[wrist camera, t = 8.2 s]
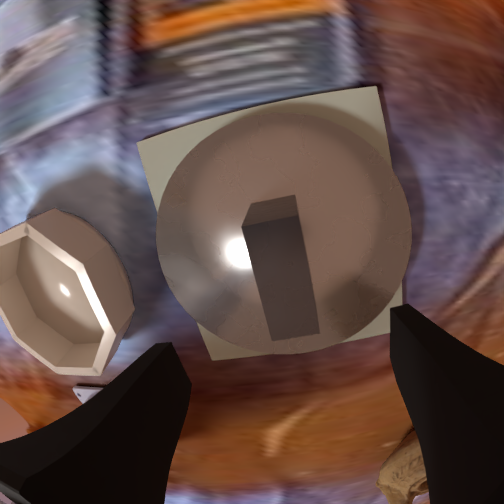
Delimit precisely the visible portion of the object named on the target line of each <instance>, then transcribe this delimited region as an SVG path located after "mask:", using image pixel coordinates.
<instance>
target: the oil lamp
mask: <svg viewBox="0 0 504 504" xmlns="http://www.w3.org/2000/svg"><path fill="white" fill-rule="evenodd" d="M376 486H377V487H379V488H380V489H381V491H382V492H383V494H384V495H385V496H386V498H387V500H388V503H389V504H412V502H413V499H414V497H415V496H418V495H422V494H425V493H427V492H429V490H428V483H427V477H426V471H425V466H424V461H423V456H422V452H421V447H420V444H419V440H418V437H417V434H416V431H415V430H413V431H412V432H411V433H410V434H408V435H407V436H406V438H405V439H404V440H403V441H402V442H401V443H400V444H399V445H398V447H397V448H396V449H395V450H394V451H393V453H392V454H391V455H390V456H389V457H388V458H387V460H386V461H385V462H384V463H383V465H382V467H381V469H380V474H379V478H378V480H377V482H376Z"/></svg>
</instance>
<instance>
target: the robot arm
mask: <svg viewBox="0 0 504 504" xmlns="http://www.w3.org/2000/svg"><path fill="white" fill-rule="evenodd" d="M390 359H391V363H392V367H393V371H394V374H395V378H396V382H397V384H398V387H399V390H400V392H401V395H402V397H403V400H404V402H405V405H406V407H407V410H408V413H409V415H410V418H411V420H412V423H413V426H414V428H415V431H416V434H417V437H418V440H419V444H420V447H421V452H422V456H423V461H424V466H425V471H426V477H427V483H428V490H429V497H430V504H504V365H502V364H500V363H498V362H496V361H494V360H492V359H490V358H488V357H486V356H484V355H482V354H480V353H479V352H477V351H475V350H473V349H472V348H470V347H469V346H467V345H465V344H464V343H462V342H461V341H459V340H458V339H456V338H455V337H453V336H452V335H450V334H449V333H447V332H446V331H444V330H443V329H442V328H440V327H439V326H437V325H436V324H435V323H433V322H432V321H431V320H429V319H428V318H427V317H425V316H424V315H423V314H421V313H420V312H419V311H417V310H416V309H414V308H413V307H412V306H410V305H409V304H405V305H400V306H396V307H392V308H390ZM191 386H192V384H191V382H190V380H189V378H188V376H187V374H186V372H185V370H184V368H183V366H182V364H181V362H180V359H179V357H178V355H177V353H176V351H175V349H174V347H173V345H172V343H171V342H167V343H156V344H155V345H153V346H152V347H151V348H149V349H148V350H147V351H146V352H145V353H143V354H142V355H141V356H140V357H139V358H138V359H137V360H135V361H134V362H133V363H132V364H131V365H130V366H129V367H128V368H126V369H125V370H124V371H123V372H122V373H121V374H120V375H119V376H117V377H116V378H115V379H114V380H113V381H112V382H110V383H109V384H108V385H107V386H106V387H104V388H98V387H82V386H74V388H73V391H74V393H75V394H76V395H77V397H78V398H79V400H80V401H81V402H82V405H81V406H79V407H78V408H76V409H75V410H73V411H72V412H70V413H69V414H67V415H65V416H64V417H62V418H60V419H58V420H56V421H55V422H53V423H51V424H49V425H47V426H45V427H43V428H41V429H39V430H37V431H34V432H32V433H30V434H27V435H25V436H22V437H19V438H16V439H13V440H10V441H6V442H3V443H0V492H2V493H3V494H4V495H5V496H6V497H8V498H9V499H10V500H12V503H11V504H164V501H165V493H166V487H167V481H168V475H169V470H170V466H171V462H172V458H173V455H174V452H175V449H176V446H177V442H178V439H179V436H180V433H181V430H182V427H183V423H184V420H185V417H186V414H187V410H188V405H189V400H190V393H191ZM0 504H5V503H4V502H3V501H1V500H0Z"/></svg>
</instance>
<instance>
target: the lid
mask: <svg viewBox="0 0 504 504" xmlns="http://www.w3.org/2000/svg"><path fill="white" fill-rule="evenodd" d="M411 243H412V225H411V217H410V210H409V207H408V203H407V200H406V196H405V193H404V191H403V189H402V187H401V184H400V182H399V180H398V178H397V176H396V175H395V173H394V172H393V170H392V169H391V167H390V165H389V164H388V163H387V162H386V160H385V159H384V158H383V157H382V156H381V155H380V153H379V152H378V151H377V150H376V149H375V148H374V147H372V146H371V145H370V144H369V143H368V142H367V141H365V140H364V139H363V138H362V137H360V136H359V135H357V134H355V133H354V132H352V131H351V130H349V129H347V128H345V127H343V126H341V125H339V124H336V123H334V122H332V121H330V120H326V119H323V118H319V117H316V116H312V115H306V114H298V113H268V114H262V115H256V116H251V117H248V118H245V119H242V120H238V121H235V122H233V123H231V124H229V125H227V126H224V127H222V128H220V129H218V130H217V131H215V132H214V133H212V134H211V135H209V136H208V137H206V138H205V139H203V140H202V141H201V142H200V143H198V144H197V145H196V146H195V147H194V148H193V149H192V150H191V151H190V152H189V153H188V154H187V155H186V156H185V157H184V159H183V160H182V161H181V162H180V164H179V165H178V166H177V168H176V169H175V171H174V172H173V174H172V176H171V177H170V179H169V181H168V183H167V185H166V188H165V190H164V193H163V195H162V198H161V202H160V206H159V209H158V215H157V223H156V245H157V251H158V257H159V261H160V265H161V268H162V271H163V274H164V276H165V279H166V281H167V283H168V285H169V287H170V289H171V291H172V292H173V294H174V296H175V297H176V299H177V300H178V302H179V303H180V304H181V305H182V307H183V308H184V309H185V310H186V312H187V313H188V314H189V315H190V316H191V317H192V318H193V319H194V320H195V321H196V322H198V323H199V324H200V325H201V326H203V327H204V328H205V329H207V330H208V331H209V332H211V333H213V334H214V335H216V336H218V337H219V338H221V339H223V340H225V341H227V342H229V343H231V344H234V345H236V346H239V347H242V348H245V349H248V350H253V351H257V352H262V353H270V354H299V353H307V352H312V351H316V350H321V349H324V348H327V347H330V346H333V345H335V344H337V343H339V342H342V341H344V340H346V339H348V338H350V337H351V336H353V335H354V334H356V333H358V332H359V331H361V330H362V329H363V328H365V327H366V326H367V325H368V324H370V323H371V322H372V321H373V320H374V319H375V318H376V317H377V316H378V315H379V314H380V313H381V312H382V311H383V310H384V309H385V307H386V306H387V305H388V303H389V302H390V301H391V300H392V298H393V296H394V295H395V293H396V291H397V290H398V288H399V286H400V284H401V281H402V279H403V277H404V274H405V272H406V268H407V265H408V261H409V257H410V251H411Z"/></svg>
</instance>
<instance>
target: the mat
mask: <svg viewBox="0 0 504 504" xmlns="http://www.w3.org/2000/svg"><path fill="white" fill-rule="evenodd" d="M268 113H298V114H306V115H312V116H316V117H319V118H323V119H326V120H330V121H332V122H334V123H336V124H339V125H341V126H343V127H345V128H347V129H349V130H351V131H352V132H354V133H355V134H357V135H359V136H360V137H362V138H363V139H364V140H365V141H367V142H368V143H369V144H370V145H371V146H372V147H374V148H375V149H376V150H377V151H378V152H379V153H380V155H381V156H382V157H383V158H384V159H385V160H386V162H387V163H388V164H389V165H390V167H391V169H392V163H391V157H390V151H389V145H388V139H387V134H386V128H385V123H384V118H383V113H382V109H381V104H380V100H379V95H378V91H377V87H376V86H373V87H364V88H356V89H348V90H341V91H334V92H328V93H322V94H316V95H310V96H304V97H299V98H294V99H289V100H284V101H279V102H274V103H270V104H265V105H261V106H257V107H252V108H248V109H244V110H240V111H236V112H232V113H229V114H225V115H221V116H218V117H214V118H210V119H207V120H204V121H200V122H197V123H194V124H190V125H187V126H184V127H181V128H178V129H175V130H171V131H168V132H166V133H163V134H160V135H157V136H154V137H151V138H148V139H145V140H143V141H140V142H137V146H138V150H139V153H140V157H141V160H142V164H143V167H144V171H145V174H146V178H147V181H148V184H149V188H150V191H151V194H152V197H153V201H154V204H155V207H156V210H157V213H158V209H159V206H160V202H161V198H162V195H163V193H164V190H165V188H166V185H167V183H168V181H169V179H170V177H171V176H172V174H173V172H174V171H175V169H176V168H177V166H178V165H179V164H180V162H181V161H182V160H183V159H184V157H185V156H186V155H187V154H188V153H189V152H190V151H191V150H192V149H193V148H194V147H195V146H196V145H197V144H198V143H200V142H201V141H202V140H203V139H205V138H206V137H208V136H209V135H211V134H212V133H214V132H215V131H217V130H218V129H220V128H222V127H224V126H227V125H229V124H231V123H233V122H235V121H238V120H242V119H245V118H248V117H251V116H256V115H262V114H268ZM400 305H402V281H401V284H400V286H399V288H398V290H397V291H396V293H395V295H394V296H393V298H392V300H391V301H390V302H389V303H388V305H387V306H386V307H385V309H384V310H383V311H382V312H381V313H380V314H379V315H378V316H377V317H376V318H375V319H374V320H373V321H372V322H371V323H370V324H368V325H367V326H366V327H365V328H363V329H362V330H361V331H359V332H358V333H356V334H354V335H353V336H351V337H350V338H348V339H346V340H344V341H342V342H339V343H343V342H348V341H353V340H358V339H363V338H367V337H372V336H377V335H381V334H386V333H390V308H392V307H396V306H400ZM197 325H198V327H199V330H200V332H201V335H202V337H203V340H204V342H205V345H206V347H207V350H208V352H209V354H210V357H211V359H212V361H214V360H225V359H235V358H244V357H252V356H260V355H268V354H270V353H262V352H257V351H253V350H248V349H245V348H242V347H239V346H236V345H234V344H231V343H229V342H227V341H225V340H223V339H221V338H219V337H218V336H216V335H214V334H213V333H211V332H209V331H208V330H207V329H205V328H204V327H203V326H201V325H200V324H199V323H198V322H197Z"/></svg>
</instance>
